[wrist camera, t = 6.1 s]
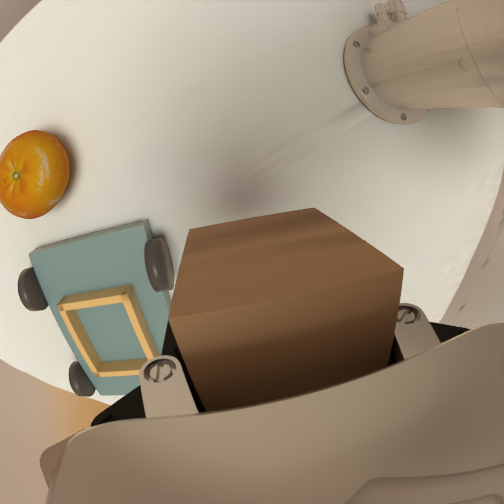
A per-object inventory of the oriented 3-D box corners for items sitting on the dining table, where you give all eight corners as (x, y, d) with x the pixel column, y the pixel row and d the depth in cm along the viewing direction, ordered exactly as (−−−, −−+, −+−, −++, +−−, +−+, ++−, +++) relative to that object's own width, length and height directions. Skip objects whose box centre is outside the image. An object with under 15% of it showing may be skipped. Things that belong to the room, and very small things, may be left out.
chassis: (29, 250, 25) (7, 266, 20) (160, 216, 26) (151, 231, 22) (96, 385, 33) (88, 410, 29) (208, 376, 35) (209, 404, 30)
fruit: (88, 185, 21) (9, 184, 14) (55, 230, 25) (-7, 237, 17) (76, 119, 22) (10, 109, 14) (45, 169, 25) (-11, 167, 18)
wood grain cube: (189, 229, 11) (168, 318, 5) (314, 207, 11) (403, 268, 5) (223, 363, 13) (234, 467, 8) (319, 342, 14) (367, 433, 8)
